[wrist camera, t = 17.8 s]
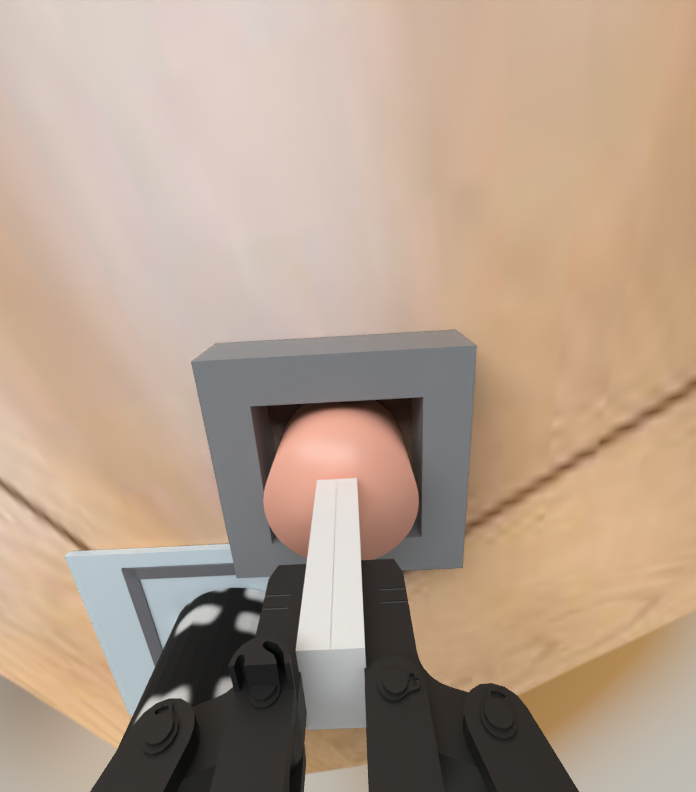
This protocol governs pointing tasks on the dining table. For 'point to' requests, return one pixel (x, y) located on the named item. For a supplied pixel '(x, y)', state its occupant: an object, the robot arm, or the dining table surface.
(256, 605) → the white-spotted black cylinder
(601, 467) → the dining table surface
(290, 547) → the button
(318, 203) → the dining table surface
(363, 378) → the button housing
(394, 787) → the robot arm
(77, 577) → the drawing pad
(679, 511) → the dining table surface
